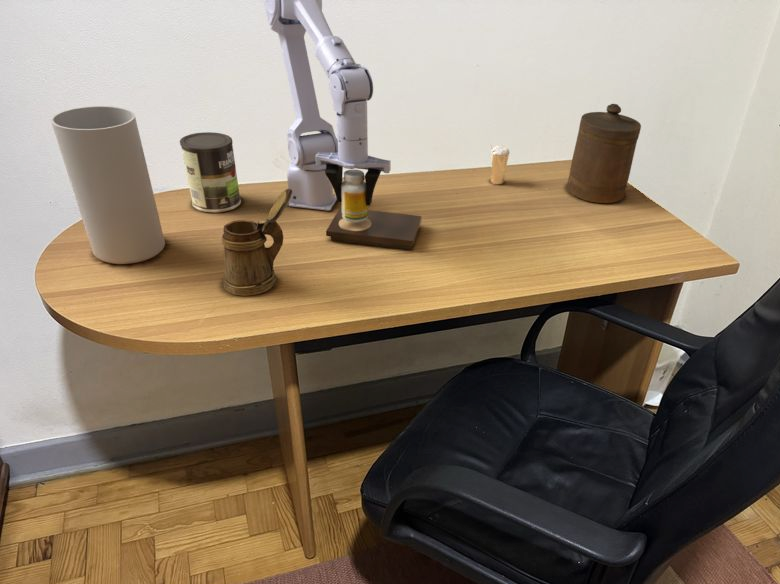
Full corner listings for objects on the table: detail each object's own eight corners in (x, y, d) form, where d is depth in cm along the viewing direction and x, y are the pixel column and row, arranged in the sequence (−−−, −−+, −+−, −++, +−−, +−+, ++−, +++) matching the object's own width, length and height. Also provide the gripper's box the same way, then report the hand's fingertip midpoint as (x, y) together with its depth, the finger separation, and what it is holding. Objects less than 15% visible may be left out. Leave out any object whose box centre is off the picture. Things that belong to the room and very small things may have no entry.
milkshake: (482, 179, 162) (486, 141, 156) (500, 177, 164) (505, 140, 158) (490, 186, 159) (494, 147, 153) (508, 184, 161) (513, 146, 155)
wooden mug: (301, 293, 113) (292, 200, 102) (222, 297, 110) (204, 201, 99) (300, 268, 120) (292, 178, 109) (225, 271, 116) (209, 179, 106)
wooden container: (633, 193, 163) (656, 106, 150) (606, 209, 154) (627, 118, 140) (585, 176, 170) (602, 92, 157) (555, 190, 160) (571, 102, 147)
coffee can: (249, 197, 143) (240, 135, 134) (228, 215, 134) (217, 151, 126) (206, 190, 143) (195, 129, 135) (183, 209, 135) (169, 144, 127)
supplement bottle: (337, 215, 130) (335, 170, 124) (359, 209, 133) (358, 166, 127) (350, 225, 127) (349, 180, 121) (373, 219, 130) (372, 175, 124)
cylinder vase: (85, 244, 120) (42, 111, 105) (152, 229, 127) (121, 102, 112) (105, 272, 113) (61, 134, 98) (175, 254, 120) (145, 123, 105)
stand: (326, 241, 129) (325, 230, 127) (341, 217, 138) (340, 205, 137) (412, 251, 128) (413, 240, 127) (421, 226, 138) (421, 215, 136)
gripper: (309, 138, 117) (314, 206, 125) (385, 146, 116) (385, 214, 124) (319, 126, 122) (323, 192, 130) (392, 134, 122) (392, 199, 130)
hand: (354, 202), depth 128 cm, fingers closed on supplement bottle, 5 cm apart
